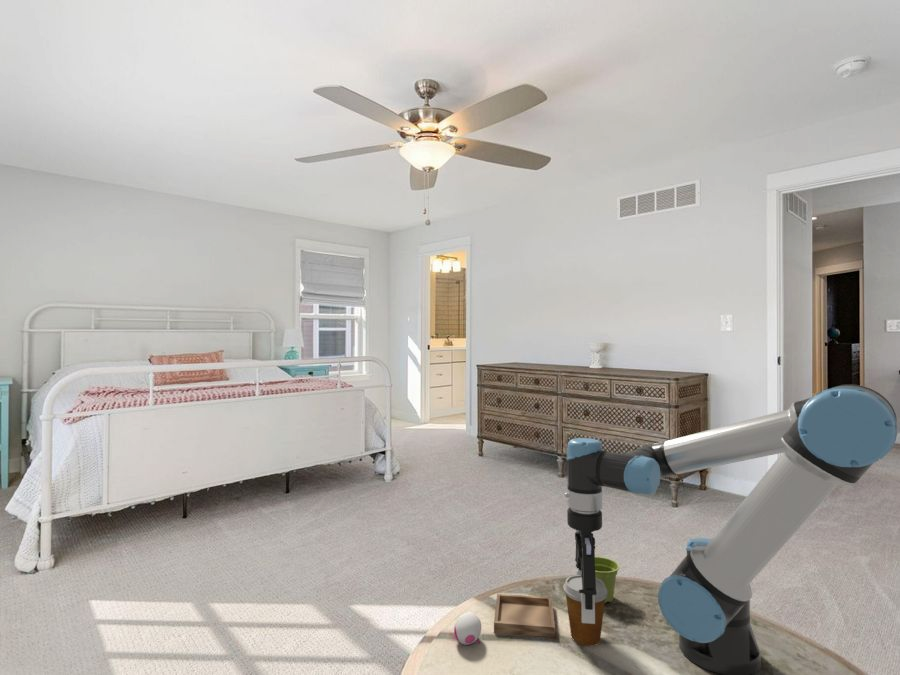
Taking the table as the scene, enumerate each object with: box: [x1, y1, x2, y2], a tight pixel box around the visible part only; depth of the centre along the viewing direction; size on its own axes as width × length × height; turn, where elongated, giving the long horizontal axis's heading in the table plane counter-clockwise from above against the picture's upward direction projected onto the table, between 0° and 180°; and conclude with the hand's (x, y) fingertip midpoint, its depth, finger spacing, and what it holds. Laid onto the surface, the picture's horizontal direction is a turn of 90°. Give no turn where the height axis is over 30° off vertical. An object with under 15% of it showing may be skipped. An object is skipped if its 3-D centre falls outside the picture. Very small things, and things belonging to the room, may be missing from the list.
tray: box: [493, 593, 556, 638], centre depth 119 cm, size 14×14×2 cm
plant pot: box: [595, 556, 620, 604], centre depth 129 cm, size 9×9×9 cm
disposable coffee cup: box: [563, 574, 607, 647], centre depth 111 cm, size 10×10×12 cm
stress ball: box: [453, 611, 482, 646], centre depth 110 cm, size 8×8×7 cm
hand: (585, 610), depth 111 cm, fingers closed on disposable coffee cup, 9 cm apart
